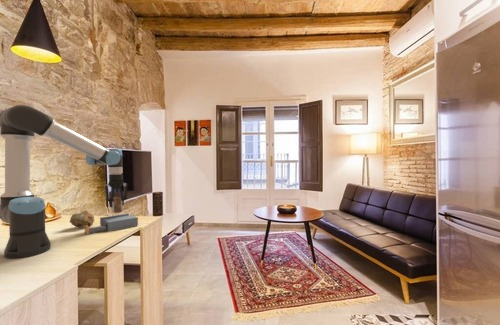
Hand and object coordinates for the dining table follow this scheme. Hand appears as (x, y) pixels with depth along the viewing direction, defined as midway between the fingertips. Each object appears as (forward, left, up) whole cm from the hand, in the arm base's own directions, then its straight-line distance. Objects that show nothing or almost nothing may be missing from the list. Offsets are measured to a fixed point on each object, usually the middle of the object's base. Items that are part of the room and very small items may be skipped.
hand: (117, 211), depth 154 cm
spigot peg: (0, 0, 0) cm, 0 cm away
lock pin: (-11, -9, -8) cm, 16 cm away
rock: (-16, +9, -8) cm, 20 cm away
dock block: (0, -4, -8) cm, 9 cm away
